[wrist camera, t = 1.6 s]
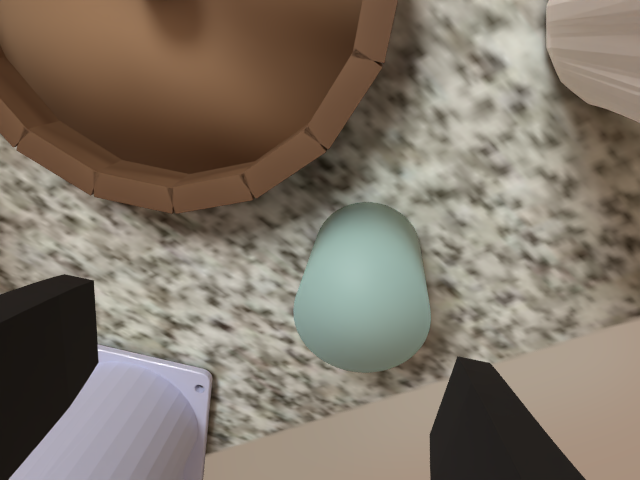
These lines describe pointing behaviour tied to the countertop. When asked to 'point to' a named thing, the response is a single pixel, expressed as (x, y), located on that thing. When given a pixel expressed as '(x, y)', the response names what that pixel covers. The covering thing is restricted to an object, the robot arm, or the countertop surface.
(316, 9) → the tray
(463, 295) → the countertop surface
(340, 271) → the pale teal rounded piece
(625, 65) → the cup
